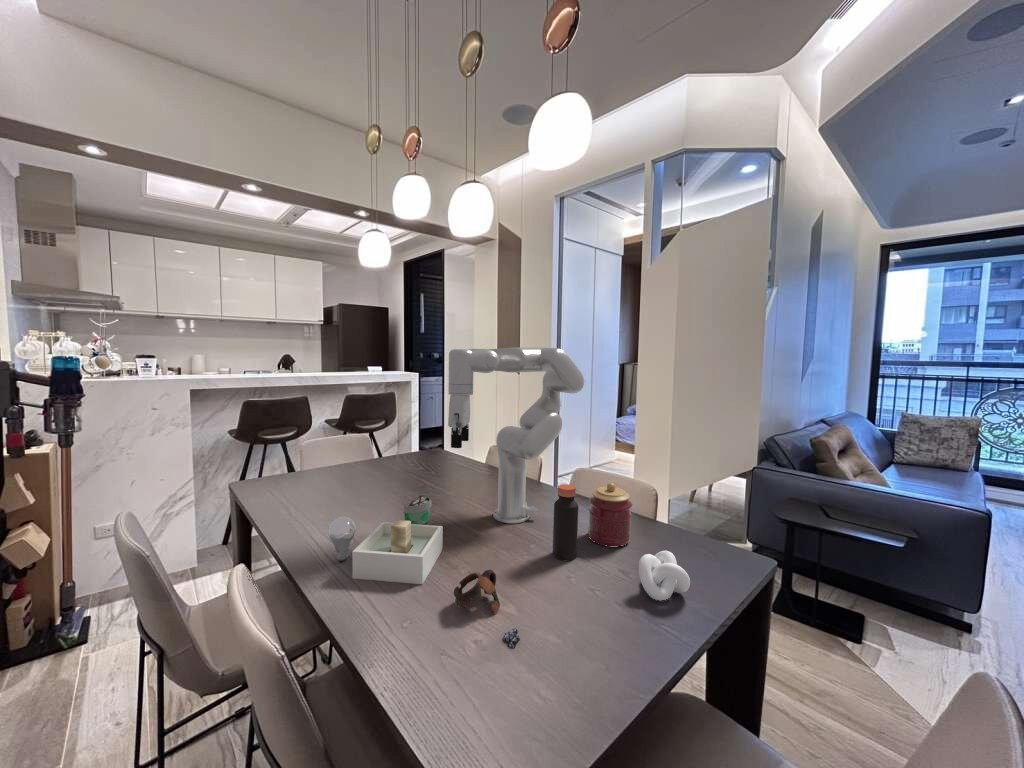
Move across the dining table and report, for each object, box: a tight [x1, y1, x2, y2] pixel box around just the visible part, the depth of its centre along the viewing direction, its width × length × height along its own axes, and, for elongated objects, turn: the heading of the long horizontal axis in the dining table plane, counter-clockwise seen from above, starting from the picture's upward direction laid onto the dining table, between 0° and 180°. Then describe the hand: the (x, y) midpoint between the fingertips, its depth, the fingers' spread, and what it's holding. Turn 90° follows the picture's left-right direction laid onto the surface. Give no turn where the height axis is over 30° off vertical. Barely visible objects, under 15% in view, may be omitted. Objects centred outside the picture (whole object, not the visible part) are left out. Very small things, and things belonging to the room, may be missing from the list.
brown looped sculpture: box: [453, 569, 501, 616], centre depth 95 cm, size 12×10×8 cm
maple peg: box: [391, 519, 411, 554], centre depth 112 cm, size 4×4×10 cm
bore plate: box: [369, 534, 432, 555], centre depth 112 cm, size 16×16×3 cm
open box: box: [351, 521, 444, 585], centre depth 112 cm, size 18×18×7 cm
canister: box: [587, 482, 633, 546], centre depth 129 cm, size 13×13×18 cm
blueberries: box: [502, 628, 526, 649], centre depth 84 cm, size 7×8×2 cm
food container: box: [403, 493, 433, 525], centre depth 132 cm, size 12×6×10 cm, turn 168°
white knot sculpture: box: [638, 550, 691, 602], centre depth 102 cm, size 11×12×9 cm
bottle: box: [552, 483, 579, 561], centre depth 118 cm, size 7×7×20 cm
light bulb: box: [327, 516, 357, 562], centre depth 113 cm, size 7×7×12 cm
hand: (460, 444), depth 130 cm, fingers open, 9 cm apart
